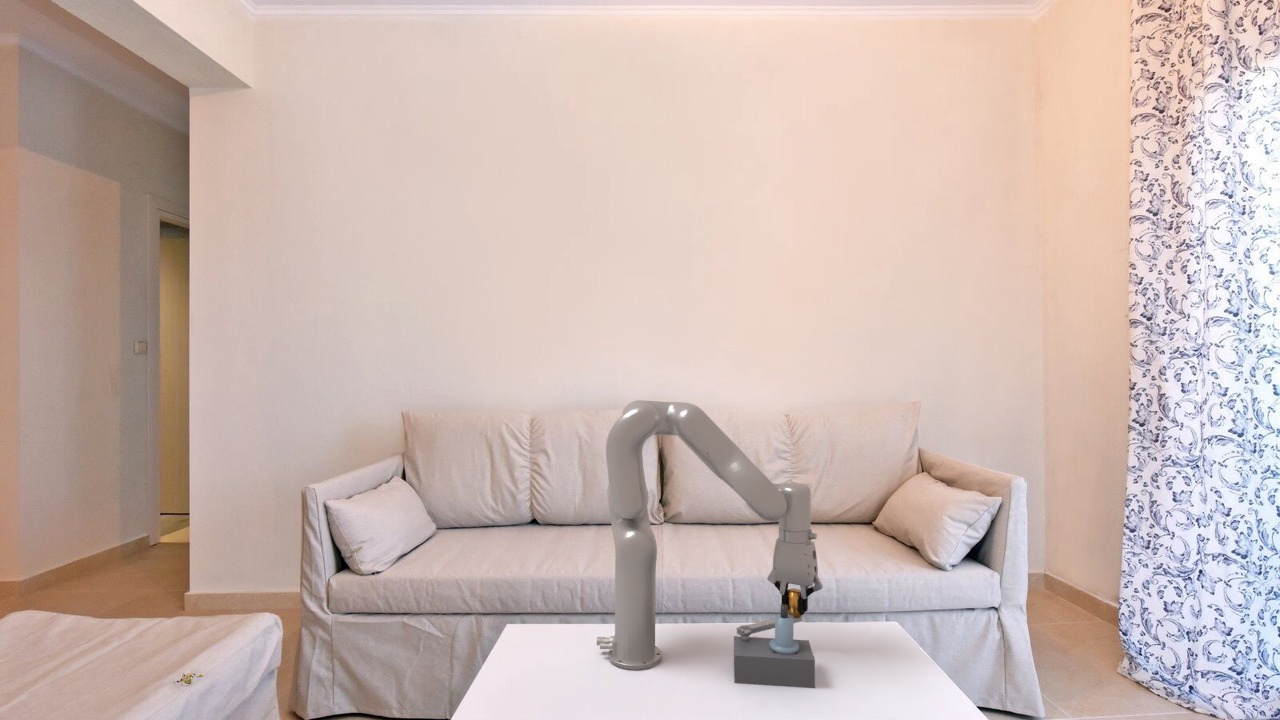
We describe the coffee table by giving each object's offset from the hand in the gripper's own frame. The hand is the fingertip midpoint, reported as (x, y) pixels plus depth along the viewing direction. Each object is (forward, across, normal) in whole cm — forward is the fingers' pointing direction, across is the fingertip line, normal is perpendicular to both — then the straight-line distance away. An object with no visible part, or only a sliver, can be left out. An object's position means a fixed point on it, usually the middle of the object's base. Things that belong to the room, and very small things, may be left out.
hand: (794, 611), depth 159 cm
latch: (+2, +4, +7) cm, 8 cm away
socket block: (+10, +1, +14) cm, 17 cm away
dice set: (+10, +110, +82) cm, 137 cm away
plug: (+8, -2, +13) cm, 15 cm away
